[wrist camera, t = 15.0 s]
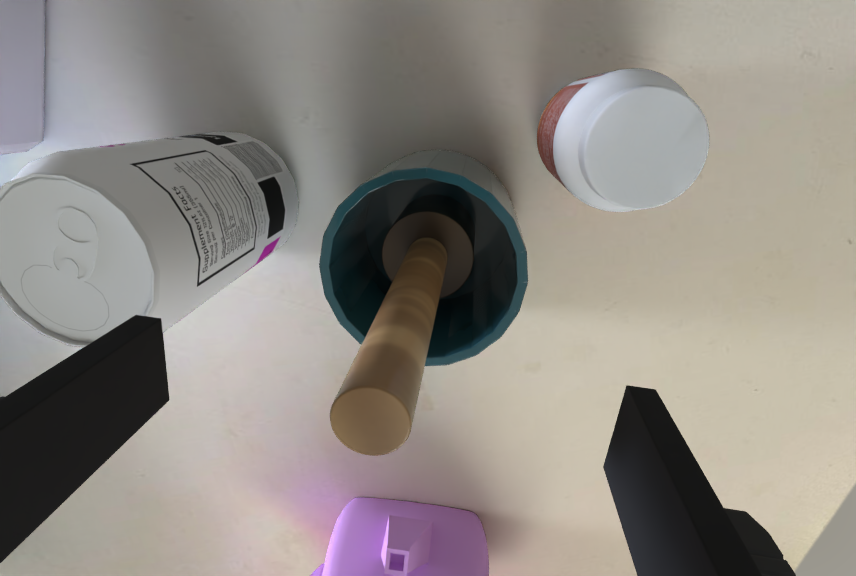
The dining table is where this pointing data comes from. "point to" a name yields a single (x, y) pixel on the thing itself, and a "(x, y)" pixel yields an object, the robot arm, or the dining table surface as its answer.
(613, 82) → the pill bottle
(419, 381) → the brush
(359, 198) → the jar
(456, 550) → the teakettle
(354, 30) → the dining table surface
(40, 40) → the charger
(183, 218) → the supplement can
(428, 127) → the dining table surface
